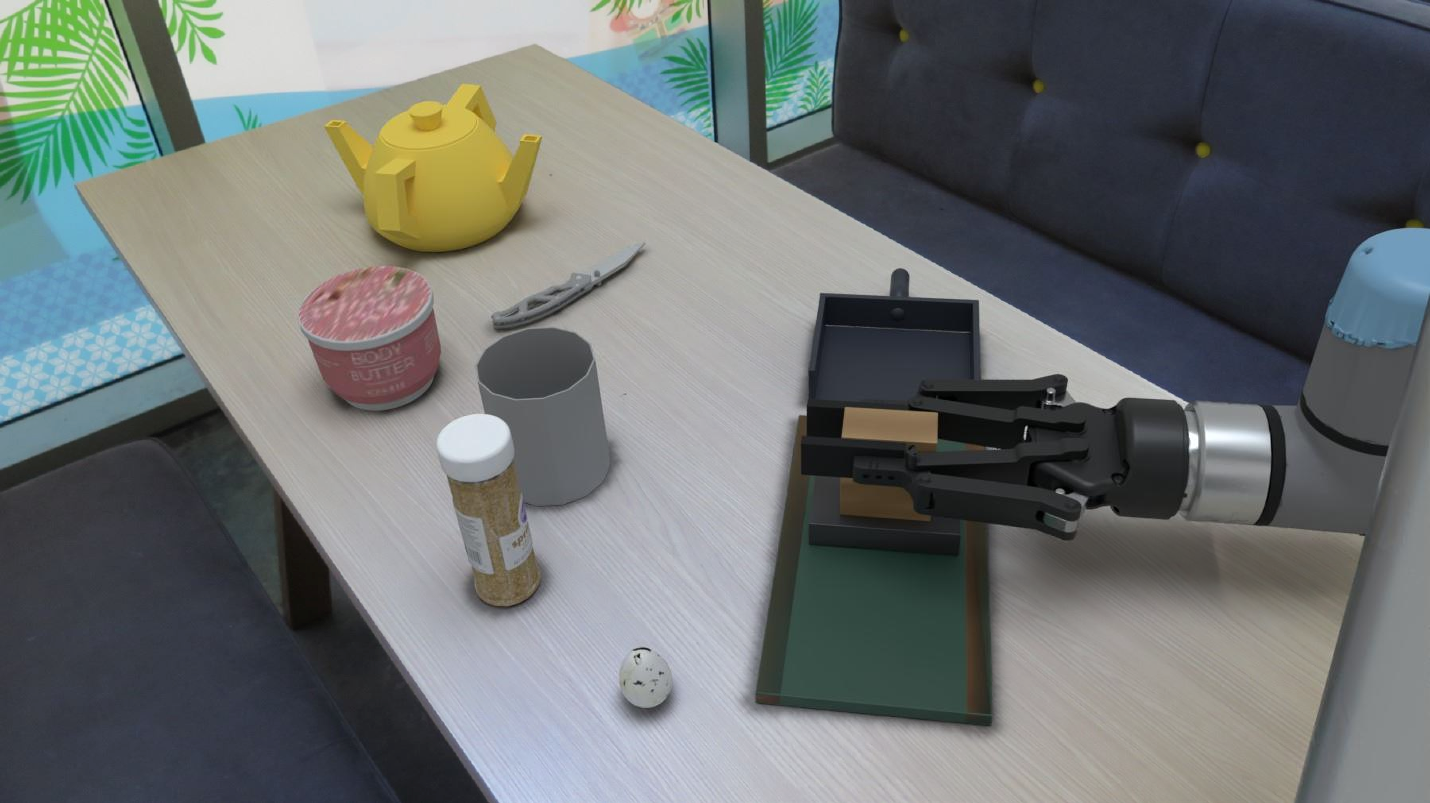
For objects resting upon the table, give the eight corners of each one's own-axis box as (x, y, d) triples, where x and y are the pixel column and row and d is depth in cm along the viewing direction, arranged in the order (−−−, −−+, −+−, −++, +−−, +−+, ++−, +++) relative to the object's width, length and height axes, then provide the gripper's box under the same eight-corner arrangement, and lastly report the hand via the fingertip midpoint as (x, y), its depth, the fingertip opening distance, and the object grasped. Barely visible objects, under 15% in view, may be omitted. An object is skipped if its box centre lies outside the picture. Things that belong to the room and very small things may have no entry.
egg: (684, 689, 74) (678, 637, 70) (657, 728, 72) (649, 676, 68) (640, 670, 75) (632, 618, 72) (612, 708, 73) (603, 656, 70)
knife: (635, 244, 113) (657, 255, 112) (489, 328, 104) (510, 341, 102) (634, 230, 112) (656, 241, 111) (485, 313, 103) (507, 326, 101)
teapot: (498, 160, 128) (478, 54, 120) (562, 228, 116) (544, 115, 109) (345, 207, 122) (313, 98, 114) (396, 283, 110) (365, 168, 103)
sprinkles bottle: (548, 597, 80) (517, 447, 71) (481, 617, 79) (441, 468, 70) (533, 550, 83) (501, 402, 75) (468, 569, 82) (429, 421, 74)
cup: (521, 425, 94) (499, 322, 87) (622, 435, 92) (607, 331, 86) (483, 500, 88) (458, 394, 81) (591, 512, 86) (573, 406, 80)
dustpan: (976, 414, 92) (980, 379, 90) (808, 404, 94) (808, 370, 92) (974, 293, 104) (978, 260, 102) (825, 287, 106) (826, 254, 104)
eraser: (958, 555, 79) (970, 455, 74) (808, 544, 81) (808, 445, 75) (958, 503, 83) (969, 404, 78) (815, 492, 85) (815, 395, 79)
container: (471, 350, 102) (453, 272, 97) (417, 430, 94) (394, 349, 89) (361, 336, 104) (338, 259, 99) (299, 413, 96) (271, 333, 91)
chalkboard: (991, 726, 70) (992, 716, 70) (755, 703, 73) (755, 693, 72) (984, 435, 90) (985, 425, 89) (798, 424, 92) (798, 414, 92)
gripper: (1185, 598, 71) (791, 566, 74) (1152, 422, 83) (815, 402, 87) (1212, 508, 66) (790, 479, 70) (1173, 335, 78) (815, 318, 82)
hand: (805, 436), depth 78 cm, fingers closed on eraser, 3 cm apart
